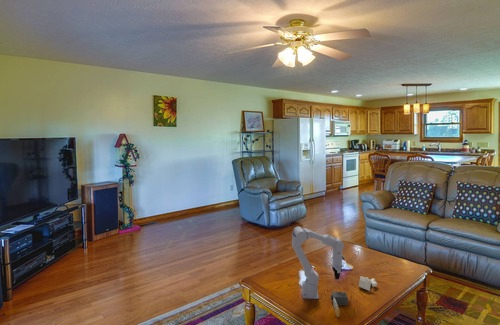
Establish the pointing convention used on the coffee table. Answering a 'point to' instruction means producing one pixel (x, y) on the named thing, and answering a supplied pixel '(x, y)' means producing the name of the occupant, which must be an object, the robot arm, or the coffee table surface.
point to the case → (340, 298)
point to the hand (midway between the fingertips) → (336, 278)
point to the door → (336, 307)
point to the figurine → (366, 283)
